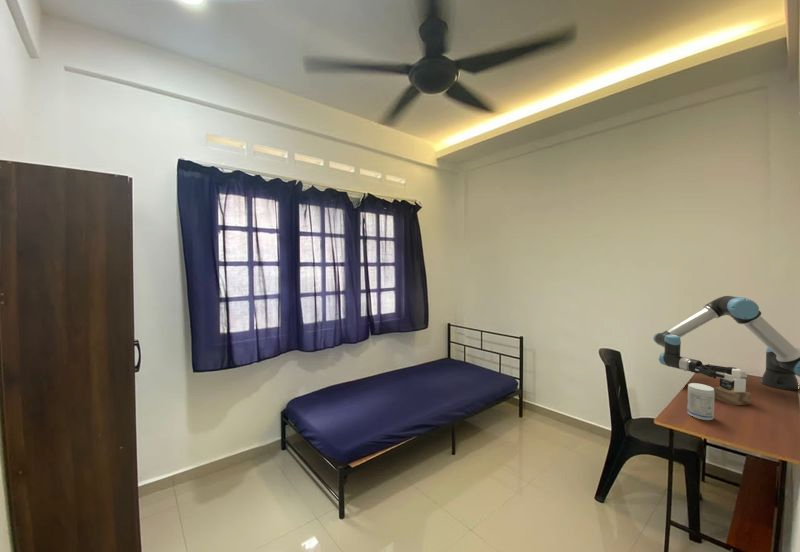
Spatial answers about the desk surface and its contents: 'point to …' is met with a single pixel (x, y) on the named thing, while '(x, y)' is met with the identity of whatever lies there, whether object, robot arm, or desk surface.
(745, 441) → the desk surface
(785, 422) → the desk surface
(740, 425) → the desk surface
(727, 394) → the walnut block
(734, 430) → the desk surface
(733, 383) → the medicine bottle
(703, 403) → the supplement tub
